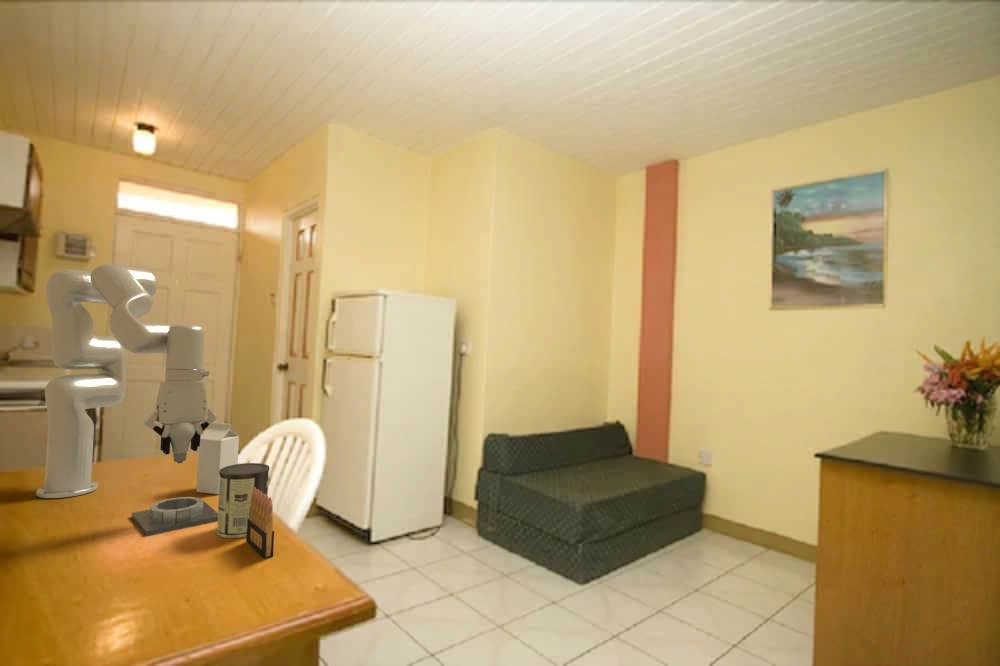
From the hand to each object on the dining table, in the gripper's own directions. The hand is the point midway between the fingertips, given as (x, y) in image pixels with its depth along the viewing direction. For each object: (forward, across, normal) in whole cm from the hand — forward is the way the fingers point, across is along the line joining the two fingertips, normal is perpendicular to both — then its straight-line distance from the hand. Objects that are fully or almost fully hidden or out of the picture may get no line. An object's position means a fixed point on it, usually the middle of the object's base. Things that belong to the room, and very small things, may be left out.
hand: (180, 450), depth 118 cm
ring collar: (+16, 0, 0) cm, 16 cm away
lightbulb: (+3, 0, 0) cm, 3 cm away
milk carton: (+16, -14, -18) cm, 28 cm away
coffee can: (+17, -9, +16) cm, 25 cm away
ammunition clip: (+17, -8, +29) cm, 35 cm away
